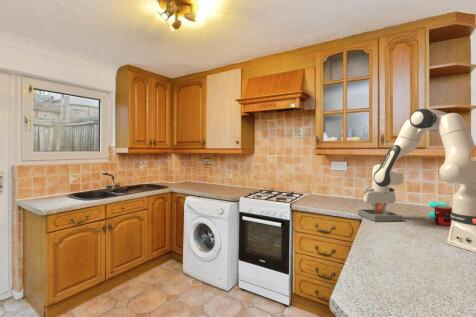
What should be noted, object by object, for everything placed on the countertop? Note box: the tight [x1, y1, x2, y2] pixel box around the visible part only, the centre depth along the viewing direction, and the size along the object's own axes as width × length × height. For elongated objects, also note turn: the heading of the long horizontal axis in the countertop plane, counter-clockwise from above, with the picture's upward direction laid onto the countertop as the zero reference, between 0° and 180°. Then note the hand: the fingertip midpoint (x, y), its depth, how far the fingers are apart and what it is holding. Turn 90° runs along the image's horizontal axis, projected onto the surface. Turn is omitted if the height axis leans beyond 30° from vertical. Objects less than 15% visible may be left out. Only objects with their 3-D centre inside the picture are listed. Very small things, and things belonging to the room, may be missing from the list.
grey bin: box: [357, 208, 403, 223], centre depth 165 cm, size 18×18×4 cm
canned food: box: [433, 205, 452, 227], centre depth 151 cm, size 8×8×11 cm
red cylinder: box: [374, 203, 384, 214], centre depth 165 cm, size 5×5×6 cm
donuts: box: [428, 201, 449, 219], centre depth 166 cm, size 10×10×10 cm
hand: (379, 209), depth 165 cm, fingers closed on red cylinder, 5 cm apart
